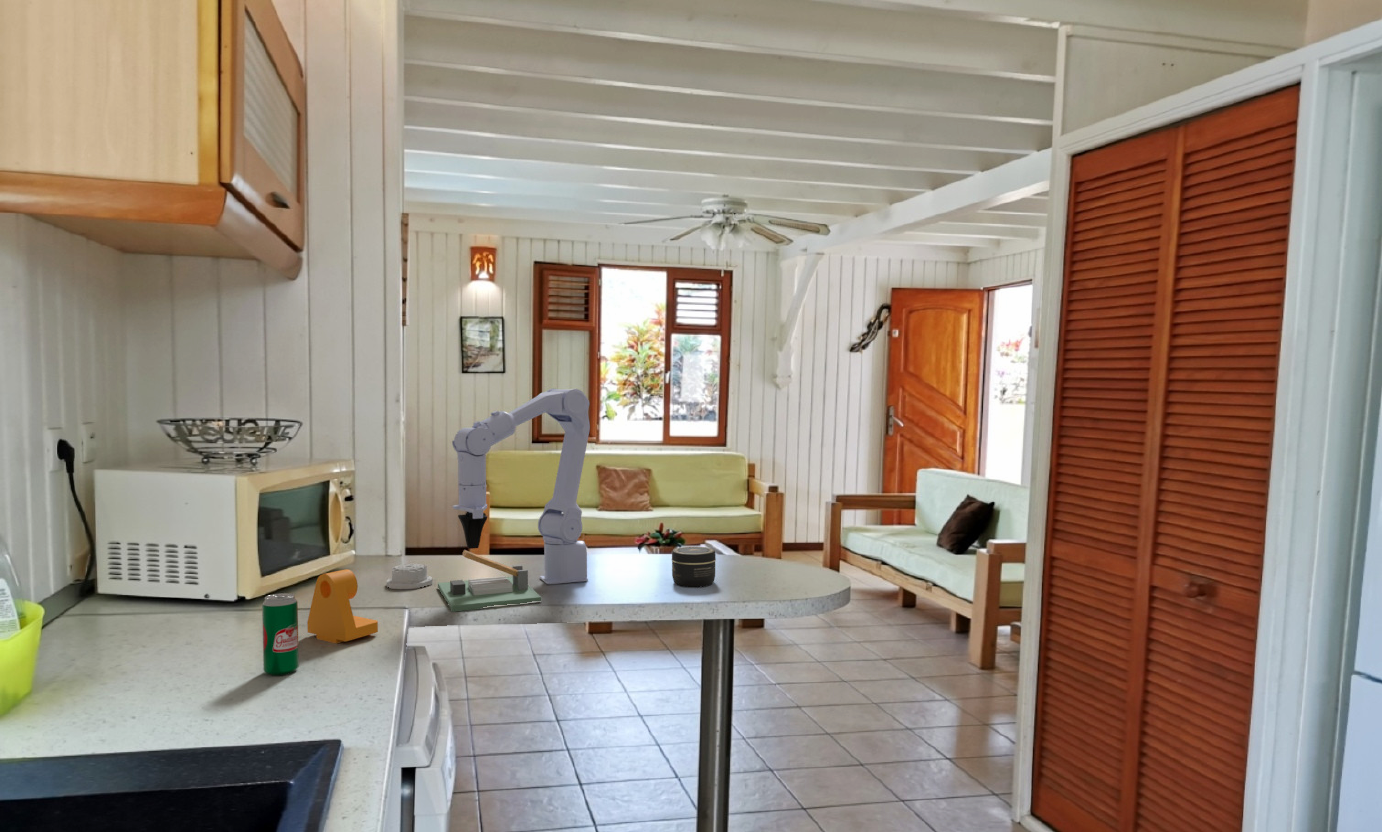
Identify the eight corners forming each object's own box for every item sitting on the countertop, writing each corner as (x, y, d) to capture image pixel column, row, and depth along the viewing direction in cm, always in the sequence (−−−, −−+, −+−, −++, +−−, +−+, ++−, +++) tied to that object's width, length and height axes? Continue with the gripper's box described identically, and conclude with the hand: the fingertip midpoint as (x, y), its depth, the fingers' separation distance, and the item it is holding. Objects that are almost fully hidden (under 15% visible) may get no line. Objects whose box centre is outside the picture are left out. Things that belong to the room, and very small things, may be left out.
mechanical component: (379, 590, 196) (424, 590, 196) (379, 571, 196) (424, 571, 196) (395, 580, 206) (438, 580, 206) (395, 561, 206) (437, 561, 206)
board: (518, 581, 204) (518, 558, 204) (541, 602, 184) (540, 577, 184) (437, 588, 197) (437, 564, 197) (451, 611, 177) (451, 585, 177)
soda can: (276, 678, 137) (274, 601, 137) (256, 673, 140) (255, 597, 139) (305, 669, 141) (304, 594, 141) (286, 664, 144) (284, 591, 144)
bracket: (380, 636, 161) (379, 570, 160) (345, 646, 154) (344, 577, 154) (342, 627, 166) (341, 563, 166) (307, 637, 160) (306, 570, 160)
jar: (664, 581, 204) (664, 548, 204) (702, 577, 208) (702, 544, 208) (684, 590, 195) (683, 555, 195) (723, 585, 200) (723, 551, 199)
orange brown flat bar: (519, 576, 195) (522, 570, 195) (523, 580, 192) (526, 574, 192) (461, 555, 190) (464, 548, 190) (464, 558, 187) (467, 552, 187)
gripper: (448, 481, 194) (448, 543, 194) (457, 488, 180) (458, 555, 181) (481, 480, 197) (481, 541, 197) (493, 487, 183) (493, 552, 184)
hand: (472, 548), depth 189 cm, fingers closed
